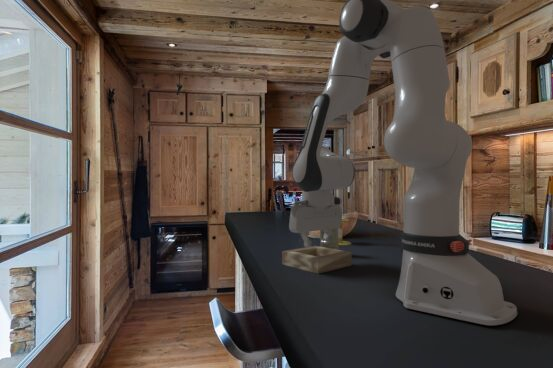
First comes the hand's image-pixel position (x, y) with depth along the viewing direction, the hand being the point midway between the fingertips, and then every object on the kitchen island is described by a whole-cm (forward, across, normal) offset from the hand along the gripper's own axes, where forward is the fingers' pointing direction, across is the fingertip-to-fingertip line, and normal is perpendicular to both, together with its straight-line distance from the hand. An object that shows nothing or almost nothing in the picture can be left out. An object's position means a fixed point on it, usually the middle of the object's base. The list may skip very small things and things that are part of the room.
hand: (316, 245), depth 108 cm
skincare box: (+6, +15, +8) cm, 18 cm away
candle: (+6, +35, +20) cm, 41 cm away
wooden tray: (+6, 0, 0) cm, 6 cm away
